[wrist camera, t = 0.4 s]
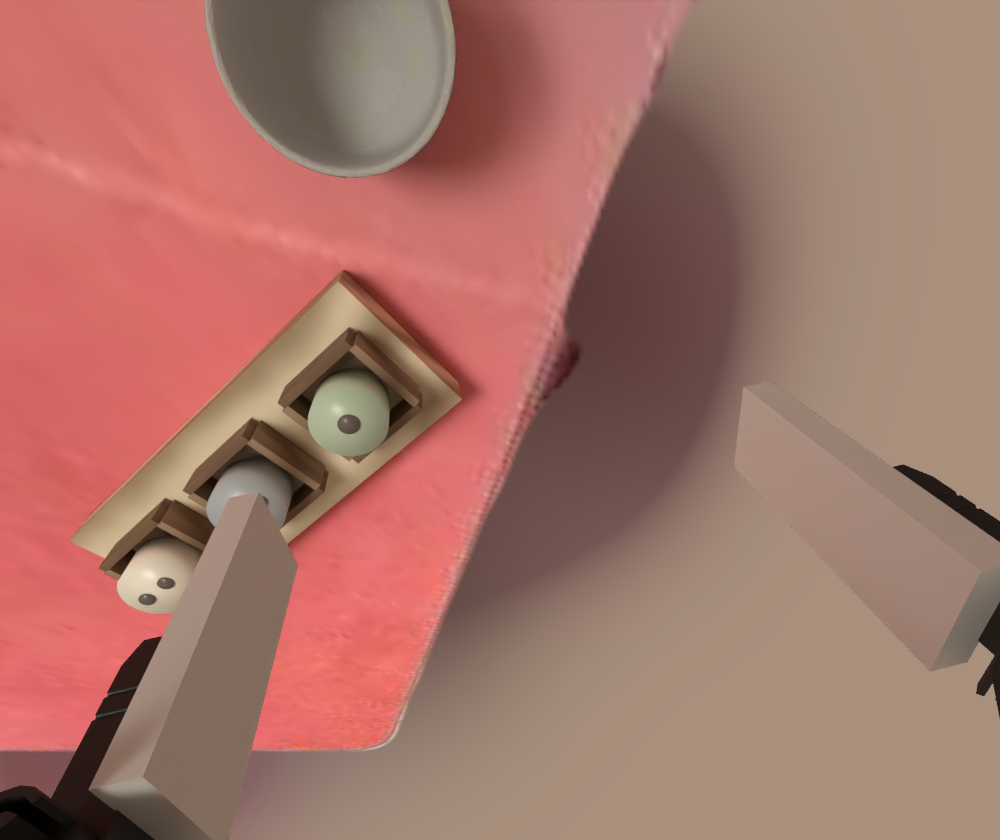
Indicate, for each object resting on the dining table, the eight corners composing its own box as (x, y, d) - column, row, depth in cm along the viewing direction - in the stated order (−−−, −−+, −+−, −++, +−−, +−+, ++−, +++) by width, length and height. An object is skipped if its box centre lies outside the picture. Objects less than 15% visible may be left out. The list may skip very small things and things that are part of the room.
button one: (299, 401, 34) (289, 424, 31) (350, 354, 33) (345, 374, 30) (355, 444, 36) (351, 469, 34) (405, 402, 35) (405, 425, 33)
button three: (205, 486, 36) (189, 515, 33) (250, 445, 35) (237, 471, 32) (264, 522, 38) (254, 551, 36) (308, 484, 37) (301, 512, 35)
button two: (121, 562, 38) (100, 595, 36) (162, 525, 37) (143, 556, 34) (182, 591, 41) (167, 624, 38) (222, 557, 40) (209, 589, 37)
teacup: (460, 150, 32) (475, 157, 25) (292, 181, 32) (260, 197, 25) (407, -165, 25) (407, -273, 18) (185, -133, 24) (100, -232, 17)
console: (89, 515, 41) (49, 565, 37) (343, 269, 35) (333, 292, 30) (220, 581, 47) (199, 632, 42) (458, 382, 40) (465, 416, 36)
